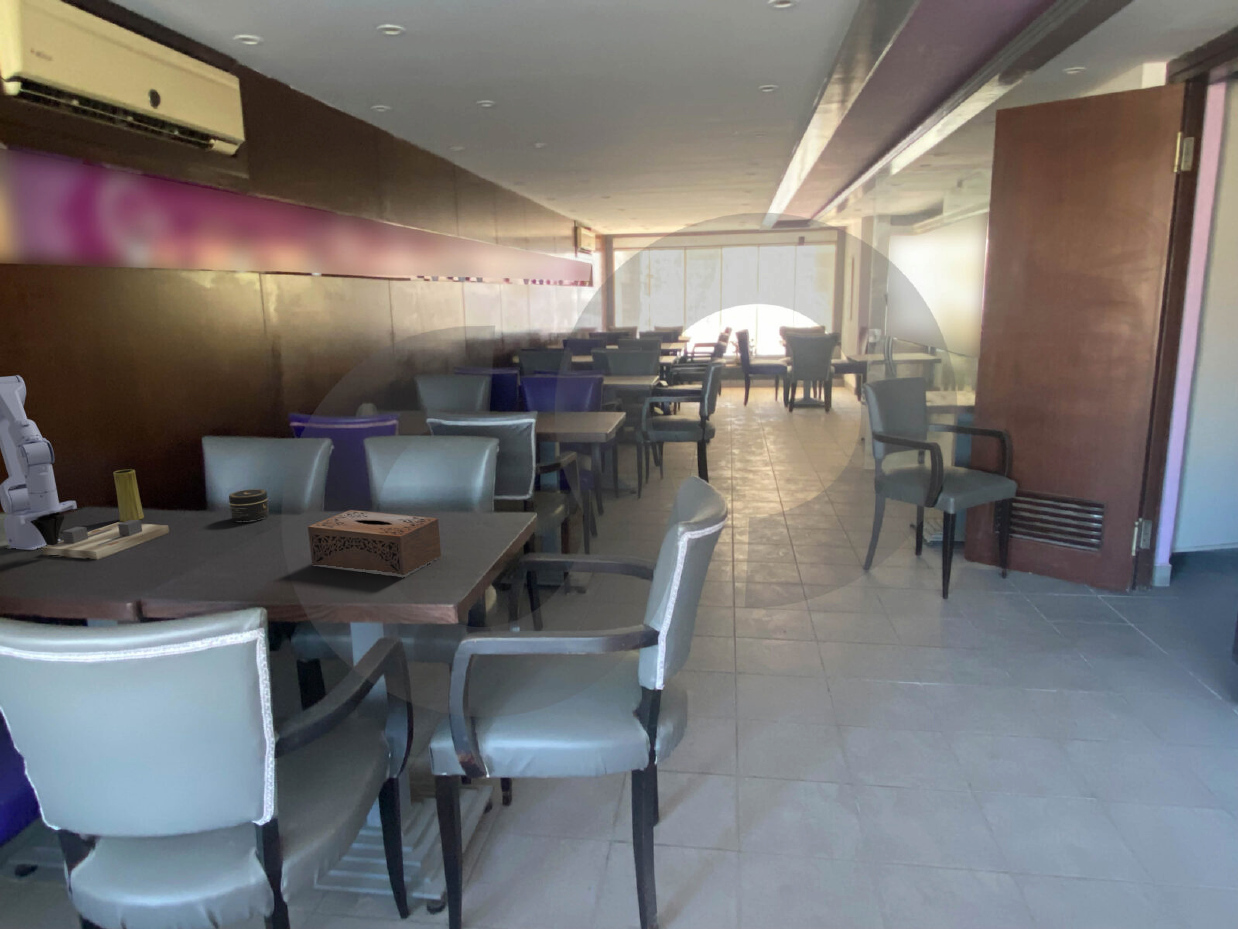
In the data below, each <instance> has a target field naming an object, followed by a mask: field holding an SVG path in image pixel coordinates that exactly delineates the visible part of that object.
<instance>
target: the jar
mask: <svg viewBox="0 0 1238 929" xmlns="http://www.w3.org/2000/svg"><path fill="white" fill-rule="evenodd" d="M268 500H269V498H268V493H267V491H266V490H265V489H262V488H261V489H259V488H258V489H257V488H255V489H254V488H250V489H244V490H239V491H235V492H232V493H230V494H229V495H228V504H229V508H230V515H231V518H232V520H233V521H234V520H235V521H242V522H243V521H250V520H258V519H261V518H264V517H267V518H268V516H269V513H270V510H269V501H268ZM235 521H234V522H235Z"/></svg>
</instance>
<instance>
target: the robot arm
mask: <svg viewBox="0 0 1238 929" xmlns="http://www.w3.org/2000/svg"><path fill="white" fill-rule="evenodd" d="M26 396H27V387H26V384H25V381H24V379H23V377H21V375H18V374H16V375H11V376H0V452H1V454H2V458H3V461H4V464H5V469H6V472H7V474H8V478H6V479H5V480H4V481H3V482H2V483H0V504H1V507H2V510H3V512H4V513H5V514H7V515H6V516H5V519H4V520H3V526H4V532H5V538H6V541H7V542H8V543H7V545H8V544H10V545H11V546H10V547H9V548H8V549H11V548H16V549H15V550H26V551H34V550H37V548H38V549H40V548H41V549H42V547H45V546H46V545H47V546H48V545H55V544H58V541H59V542H60V541H62V540H61V539H60V538H59V536H60V532H61V527H62V524H63V522H64V520H65V514H64V513H63V512H66V511H69V510H75V509H78V507H77V502H76V500H67V501H63V502H60V500H59V497H58V490H57V485H56V479H55V474H54V468H53V464H54V463H55V453H54V449H53V446H52V444H51V442H50V441H49V440H47V438H45V437H43V436H42V434H41V432H40V430H39V428H38V426H37V424H36V422H35V421H33V420H32V419H30V418H29V419H28V417H27V415H26V411H25V409H24V406H25V400H26Z"/></svg>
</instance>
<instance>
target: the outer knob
mask: <svg viewBox="0 0 1238 929" xmlns="http://www.w3.org/2000/svg"><path fill="white" fill-rule="evenodd" d="M141 520H142V519H140V520H129V521H126V522H121V523H120V524H118V528H119V534H120V535H124V536H131V535H134V534H136V533H139V532H142V525H141V524H142V521H141Z"/></svg>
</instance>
